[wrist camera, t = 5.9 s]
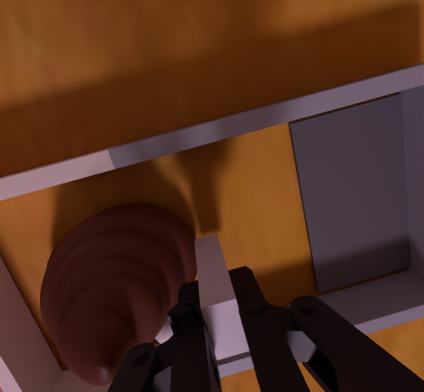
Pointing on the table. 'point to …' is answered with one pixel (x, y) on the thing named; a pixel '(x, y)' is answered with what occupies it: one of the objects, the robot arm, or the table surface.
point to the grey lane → (343, 191)
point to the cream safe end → (15, 305)
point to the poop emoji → (115, 286)
